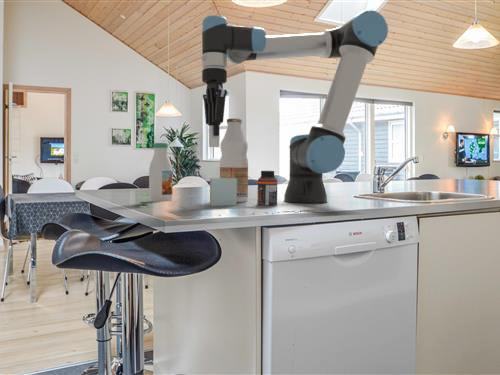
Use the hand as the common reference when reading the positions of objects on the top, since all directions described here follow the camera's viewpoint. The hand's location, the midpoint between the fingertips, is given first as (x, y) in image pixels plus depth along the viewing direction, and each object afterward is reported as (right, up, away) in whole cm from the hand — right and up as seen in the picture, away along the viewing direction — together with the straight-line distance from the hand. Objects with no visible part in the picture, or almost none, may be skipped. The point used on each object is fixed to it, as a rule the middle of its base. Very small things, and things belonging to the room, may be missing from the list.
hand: (214, 146), depth 136 cm
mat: (+1, -19, -10) cm, 21 cm away
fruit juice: (+6, -18, +11) cm, 22 cm away
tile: (+3, -18, -5) cm, 19 cm away
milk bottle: (-19, -18, +13) cm, 29 cm away
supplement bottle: (+16, -19, -2) cm, 25 cm away
